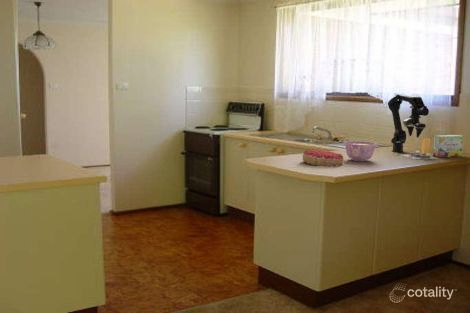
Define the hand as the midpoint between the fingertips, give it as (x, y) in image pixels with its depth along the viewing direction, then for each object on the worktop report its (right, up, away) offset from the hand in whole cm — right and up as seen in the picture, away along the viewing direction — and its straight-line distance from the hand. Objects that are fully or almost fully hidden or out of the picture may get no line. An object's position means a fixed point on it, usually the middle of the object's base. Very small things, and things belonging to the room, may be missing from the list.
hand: (413, 136), depth 367 cm
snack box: (+23, -14, -2) cm, 27 cm away
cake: (-72, -19, -42) cm, 86 cm away
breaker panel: (0, -15, -9) cm, 17 cm away
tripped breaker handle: (+4, -12, -10) cm, 16 cm away
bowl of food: (-45, -17, -28) cm, 56 cm away
